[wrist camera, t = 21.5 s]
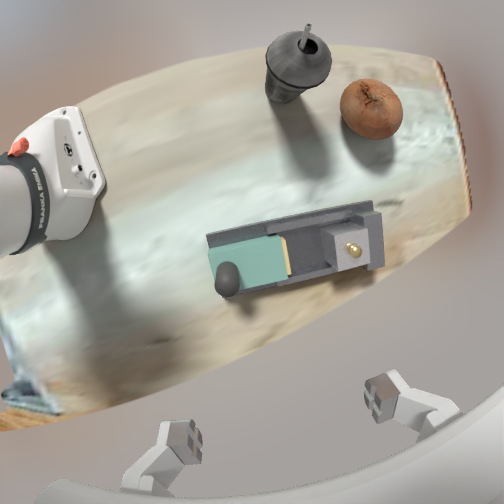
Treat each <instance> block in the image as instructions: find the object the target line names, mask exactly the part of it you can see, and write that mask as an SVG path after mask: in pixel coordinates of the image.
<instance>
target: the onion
mask: <svg viewBox="0 0 504 504" xmlns="http://www.w3.org/2000/svg"><path fill="white" fill-rule="evenodd" d="M340 110H341V114H342V117H343V119H344V121H345V122H346V124H347V125H348V126H349V127H350V128H351V129H352V130H353V131H354V132H355V133H357V134H358V135H361V136H363V137H366V138H368V139H375V140H379V139H385V138H388V137H390V136H391V135H393V134H394V133H395V132H396V131H397V130H398V129H399V127H400V125H401V123H402V118H403V109H402V105H401V102H400V100H399V98H398V97H397V95H396V94H395V93H394V92H393V90H392V89H391V88H390V87H388V86H387V85H386V84H384V83H382V82H380V81H377V80H373V79H360V80H357V81H354V82H353V83H351V84H350V85H349V86H348V87H347V88H346V89H345V90H344V92H343V94H342V97H341V101H340Z"/></svg>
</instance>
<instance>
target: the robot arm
mask: <svg viewBox="0 0 504 504" xmlns="http://www.w3.org/2000/svg"><path fill="white" fill-rule="evenodd" d="M65 112H66V114H65ZM94 174H96V178H94ZM104 186H105V178H104V175H103V172H102V170H101V167H100V165H99V162H98V159H97V157H96V154H95V151H94V149H93V146H92V143H91V140H90V137H89V134H88V131H87V128H86V125H85V122H84V119H83V116H82V113H81V110H80V108H77V107H71V106H70V107H62V108H59V109H56V110H54V111H52V112H50V113H48V114H46V115H45V116H43V117H42V118H41V119H39V120H38V121H36V122H35V123H34V124H33V125H31V126H29V127H28V128H27V129H25V130H24V131H23V132H22V133H21V134H20V135H19V136H18V137H17V138H16V139H15V141H14V142H13V144H12V147H11V150H10V152H5V153H4V154H2V155H1V156H0V259H1V258H3V257H5V256H7V255H16V254H21V253H23V252H26V251H28V250H30V249H32V248H34V247H36V246H38V245H40V244H41V243H42V242H44V241H47V240H68V239H71V238H74V237H75V236H77V235H78V234H79V233H81V232H82V231H83V229H84V228H85V227H86V225H87V223H88V222H89V220H90V217H91V214H92V211H93V207H94V203H95V200H96V198H97V197H98V195H99V194H100V193H101V191H102V190H103V188H104ZM365 387H366V391H365V392H364V398H365V403H366V405H367V407H368V409H370V410H372V411H373V412H372V416H373V418H374V419H375V421H376V423H377V424H380V423H382V422H385V421H387V420H390V419H392V418H393V419H394V420H396V421H398V422H400V423H402V424H404V425H406V426H407V427H410V428H411V429H413V430H416V431H417V432H419V433H420V434H419V436H418V439H417V441H416V443H415V444H414V445H412V446H410V447H408V448H406V449H404V450H402V451H400V452H398V453H395V454H394V455H391V456H389V457H387V458H384V459H382V460H379V461H377V462H375V463H372V464H370V465H367V466H364V467H362V468H359V469H356V470H354V471H351V472H348V473H345V474H342V475H339V476H335V477H332V478H329V479H326V480H322V481H318V482H314V483H310V484H306V485H302V486H298V487H293V488H288V489H283V490H278V491H272V492H265V493H258V494H250V495H241V496H229V497H211V498H179V497H175V496H174V495H173V494H171V493H170V492H169V491H168V490H167V489H168V487H169V486H170V485H171V483H172V482H173V481H174V479H175V478H176V477H177V475H178V474H179V473H180V471H181V470H182V469H183V467H184V466H185V465H190V464H201V460H202V459H201V458H202V453H201V451H200V450H199V449H200V448H201V447H202V436H201V433H200V431H199V429H197V428H195V422H194V421H193V420H173V421H162V422H161V424H160V428H159V432H158V437H157V442H156V446H152V448H150V449H149V450H148V451H147V452H146V453H145V454H144V455H143V456H142V457H141V458H140V459H139V460H138V461H137V462H135V463H134V464H133V465H132V466H131V467H130V468H129V469H128V470H127V471H126V472H124V476H123V480H122V484H121V488H120V492H119V491H114V490H108V489H103V488H99V487H94V486H90V485H86V484H82V483H78V482H75V481H72V480H68V479H64V478H63V479H58V480H56V481H55V482H53V483H52V484H50V485H48V486H47V487H45V488H43V489H42V490H41V491H40V493H39V494H38V496H37V498H36V499H35V502H34V504H504V383H503V384H502V385H501V386H500V387H499V388H498V389H496V390H495V391H494V392H493V393H492V394H490V395H489V396H488V397H487V398H485V399H484V400H483V401H481V402H480V403H479V404H478V405H476V406H475V407H474V408H472V409H471V410H469V411H468V412H467V413H465V414H463V413H462V412H461V411H460V410H459V409H458V407H457V406H456V405H455V404H454V403H453V401H452V400H450V399H447V398H443V397H440V396H437V395H434V394H431V393H427V392H424V391H421V390H418V389H415V388H412V389H410V387H409V386H408V385H407V384H406V383H405V381H404V380H403V379H402V377H401V376H400V375H399V374H398V372H397V371H396V370H394V369H393V370H391V371H388V372H386V373H383V374H381V375H379V376H376V377H374V378H371V379H368V380H366V382H365Z"/></svg>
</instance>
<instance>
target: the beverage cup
mask: <svg viewBox="0 0 504 504" xmlns="http://www.w3.org/2000/svg"><path fill="white" fill-rule="evenodd" d="M311 27H312V24H311V23H307V24H306V26H305V29H304V31H292V32H287V33H285V34H283V35H281V36H279V37H278V38H277V39H276V40H275V41H273V43H272V44H271V45H270V46H269V47H268V49H267V53H266V64H267V74H266V82H265V92H266V95H267V97H268V98H269V99H270V100H271V101H273V102H275V103H279V104H285V103H288V102H290V101H292V100H293V99H295V98H296V97H297V96H299V95H300V94H301V93H303V92H304V91H306V90H307V89H310V88H313V87H317V86H318V85H320V84H321V83H323V82H324V81H325V79H326V78H327V77H328V75H329V72H330V69H331V64H332V58H331V52H330V50H329V48H328V47H327V45H326V44H325V43H324V41H323V40H322V39H320V38H319V37H317V36H316V35H314V34H312V33H309V32H310V29H311Z"/></svg>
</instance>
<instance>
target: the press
mask: <svg viewBox="0 0 504 504" xmlns="http://www.w3.org/2000/svg"><path fill="white" fill-rule="evenodd" d="M347 221H351V222H353V223H356V224H358V225H361V226H363V227H366V228H368V238H369V251H370V263H369V264H365V265H361V266H362V267H363V268H364V269H366V270H367V271H370V270H373V269H377V268H380V267H384V266H385V259H384V241H383V227H382V216H381V213H380V212H376V211H374V210H373V202H372V201H371V200H368V201H362V202H357V203H351V204H346V205H341V206H336V207H330V208H325V209H320V210H315V211H310V212H305V213H300V214H295V215H291V216H286V217H281V218H276V219H271V220H267V221H262V222H257V223H253V224H248V225H244V226H239V227H235V228H230V229H226V230H221V231H217V232H212V233H208V234H206V237H207V241H208V245H209V249H210V248H214V247H219V246H223V245H228V244H232V243H237V242H241V241H246V240H250V239H255V238H259V237H264V236H269V235H273V234H278V235H279V236H280V237H283V238H284V239H285V240H286V246H287V252H288V257H289V263H290V269H291V274H290V275H288V279H286V280H282V281H278V282H273V283H269V284H265V285H260V286H256V287H251V288H247V289H242V290H238V292H237V293H236V294H235V295H238V294H243V293H247V292H252V291H257V290H261V289H265V288H270V287H274V286H278V287H279V286H283V285H287V284H291V283H296V282H300V281H304V280H308V279H312V278H316V277H320V276H324V275H328V274H332V273H336V272H338V271H337V270H336V269H335V268H334V267H333V266H332V265H330V264H329V263H328V262H327V261H326V260H325V259H324V254H323V247H322V240H321V233H320V227H324V226H329V225H333V224H338V223H343V222H347ZM354 268H355V267H354ZM350 269H351V268H350ZM346 270H347V269H346ZM343 271H344V270H343ZM339 272H340V271H339ZM233 296H234V295H233ZM222 298H224V296H222Z"/></svg>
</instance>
